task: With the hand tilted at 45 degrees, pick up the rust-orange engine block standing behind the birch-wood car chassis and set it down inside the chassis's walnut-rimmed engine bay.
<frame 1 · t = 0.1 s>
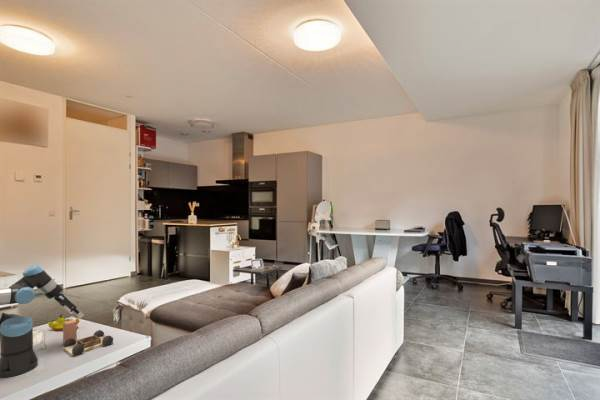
hand: (77, 314, 185), 15 cm above the table, tool tilted 35°, fingers open, 13 cm apart
engine block: (70, 343, 182), on the table
chassis: (89, 346, 177), on the table
toy boat: (63, 330, 203), on the table
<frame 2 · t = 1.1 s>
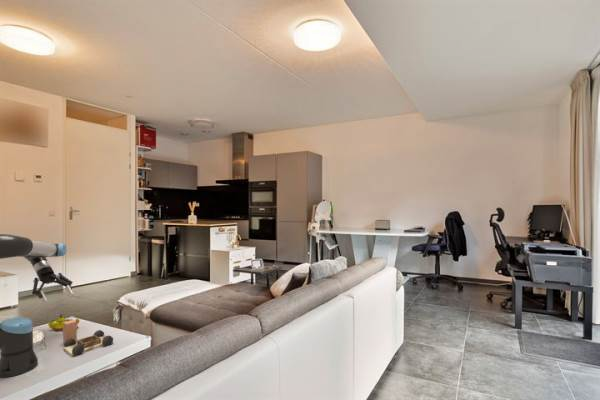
hand: (59, 298, 187), 24 cm above the table, tool tilted 45°, fingers open, 13 cm apart
nothing on the table moved.
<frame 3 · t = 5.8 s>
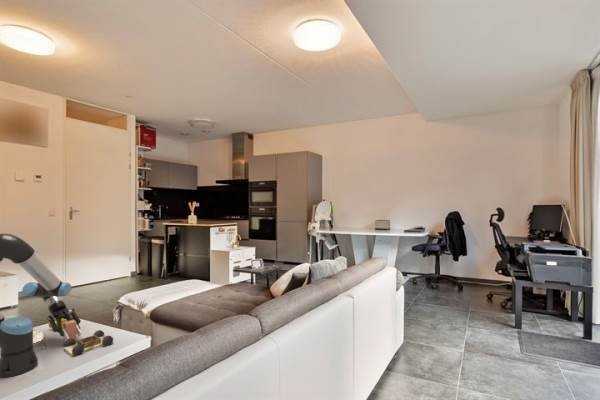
hand: (73, 337, 181), 4 cm above the table, tool tilted 45°, fingers closed on engine block, 6 cm apart
engine block: (70, 343, 182), on the table, touching gripper
everything else where it was.
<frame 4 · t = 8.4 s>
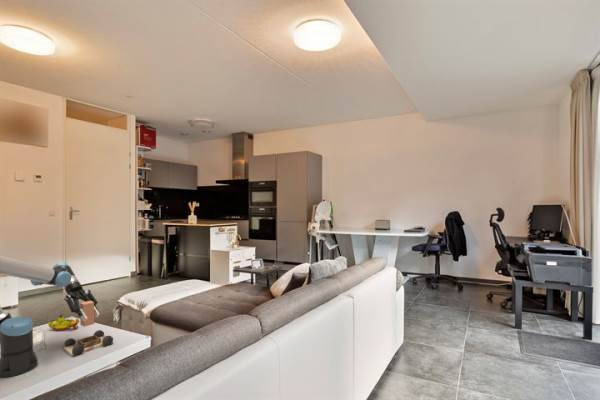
hand: (91, 317, 178), 16 cm above the table, tool tilted 45°, fingers closed on engine block, 6 cm apart
engine block: (87, 324, 179), point 12 cm above the table, touching gripper
everything else where it was.
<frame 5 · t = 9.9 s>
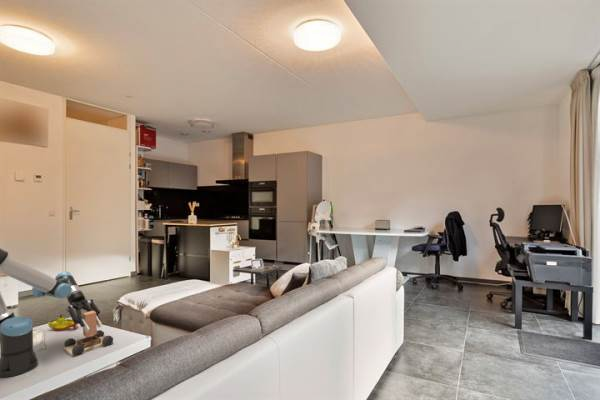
hand: (94, 328, 177), 10 cm above the table, tool tilted 45°, fingers closed on engine block, 6 cm apart
engine block: (90, 334, 178), point 6 cm above the table, touching gripper
everything else where it was.
when the fingers open (7 cm above the table, at t = 11.0 s): engine block drops 1 cm, resting on chassis.
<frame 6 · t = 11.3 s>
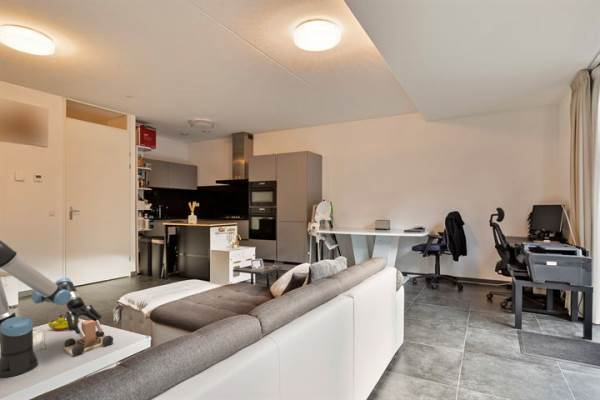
hand: (92, 334, 176), 7 cm above the table, tool tilted 45°, fingers open, 9 cm apart
engine block: (88, 343, 177), point 1 cm above the table, touching chassis
everything else where it was.
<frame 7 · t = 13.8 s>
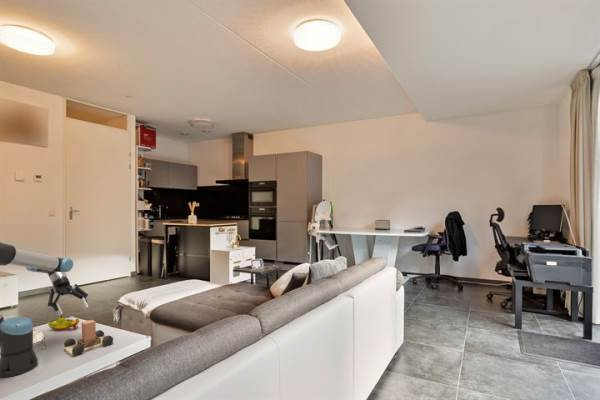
hand: (74, 311, 181), 18 cm above the table, tool tilted 40°, fingers open, 13 cm apart
nothing on the table moved.
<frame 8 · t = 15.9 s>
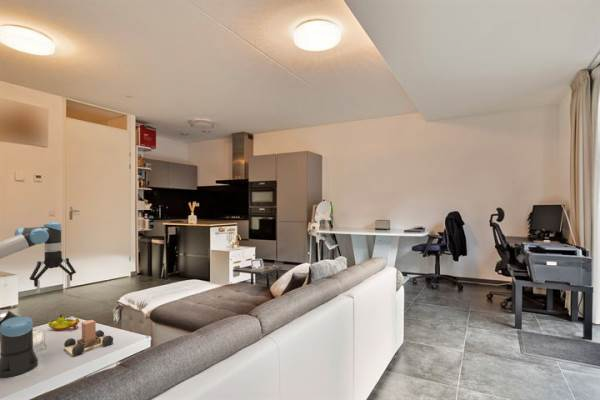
hand: (53, 289, 177), 32 cm above the table, tool pointing down, fingers open, 13 cm apart
nothing on the table moved.
at the end: engine block 0.1 cm off-centre on the chassis, point 1.5 cm above the chassis's base; engine block tilted 0°; the gripper is holding nothing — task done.
